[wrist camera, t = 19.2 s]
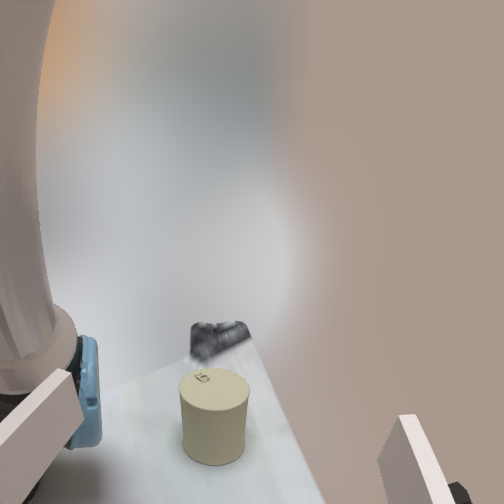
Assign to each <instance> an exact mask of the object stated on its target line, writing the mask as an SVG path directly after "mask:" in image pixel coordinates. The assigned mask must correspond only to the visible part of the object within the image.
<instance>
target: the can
mask: <svg viewBox="0 0 504 504" xmlns="http://www.w3.org/2000/svg"><path fill="white" fill-rule="evenodd" d="M179 393H180V401H181V414H182V426H183V447H184V450H185V451H186V453H187V454H188V455H189V456H190V457H191V458H192V459H194V460H195V461H197V462H200V463H202V464H206V465H224V464H228V463H231V462H233V461H234V460H236V459H237V458H238V457H240V455H241V454H242V453H243V451H244V447H245V442H244V435H245V424H246V414H247V406H248V397H249V393H250V389H249V385H248V383H247V382H246V380H245V379H244V378H242V377H241V376H240V375H238V374H236V373H234V372H231V371H228V370H224V369H218V368H206V369H200V370H196V371H193V372H191V373H189V374H188V375H186V376H185V377H184V378H183V379H182V380H181V382H180V384H179Z"/></svg>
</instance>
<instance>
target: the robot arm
mask: <svg viewBox="0 0 504 504" xmlns="http://www.w3.org/2000/svg"><path fill="white" fill-rule="evenodd" d="M56 1H57V0H0V504H26V503H27V502H28V501H29V500H30V499H31V498H32V496H33V495H34V493H35V492H36V490H37V487H38V484H39V479H40V478H41V476H42V475H43V474H44V472H45V471H46V470H47V468H48V467H49V466H50V464H51V463H52V462H53V460H54V459H55V458H56V456H57V455H58V454H59V452H60V451H61V450H62V448H67V449H69V450H72V449H74V448H84V447H94V446H96V445H98V444H99V443H100V441H101V439H102V419H101V404H100V389H99V367H98V347H97V342H96V340H95V339H94V338H92V337H87V336H85V335H80V336H79V337H78V336H77V332H76V328H75V325H74V323H73V321H72V319H71V317H70V316H69V315H68V314H67V313H66V312H65V311H64V310H63V309H62V308H60V307H59V306H57V305H55V304H53V301H52V296H51V291H50V287H49V282H48V276H47V271H46V266H45V259H44V253H43V246H42V239H41V232H40V222H39V212H38V202H37V201H38V200H37V185H36V184H37V183H36V121H37V105H38V94H39V84H40V75H41V67H42V61H43V55H44V49H45V43H46V38H47V33H48V29H49V24H50V20H51V15H52V11H53V7H54V3H55V2H56ZM377 461H378V465H379V469H380V473H381V476H382V480H383V484H384V488H385V492H386V495H387V499H388V504H472V503H471V500H470V497H469V495H468V493H467V490H466V489H465V488H464V487H463V486H462V485H461V484H459V483H458V482H455V483H451V484H447V483H446V480H445V478H444V476H443V473H442V471H441V468H440V466H439V464H438V462H437V460H436V457H435V455H434V453H433V451H432V449H431V446H430V444H429V442H428V440H427V438H426V436H425V434H424V432H423V429H422V427H421V425H420V424H419V421H418V419H417V417H416V415H415V414H412V415H399V416H398V418H397V420H396V422H395V425H394V426H393V428H392V431H391V433H390V435H389V437H388V439H387V441H386V443H385V445H384V447H383V449H382V451H381V453H380V455H379V456H378V459H377Z"/></svg>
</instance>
